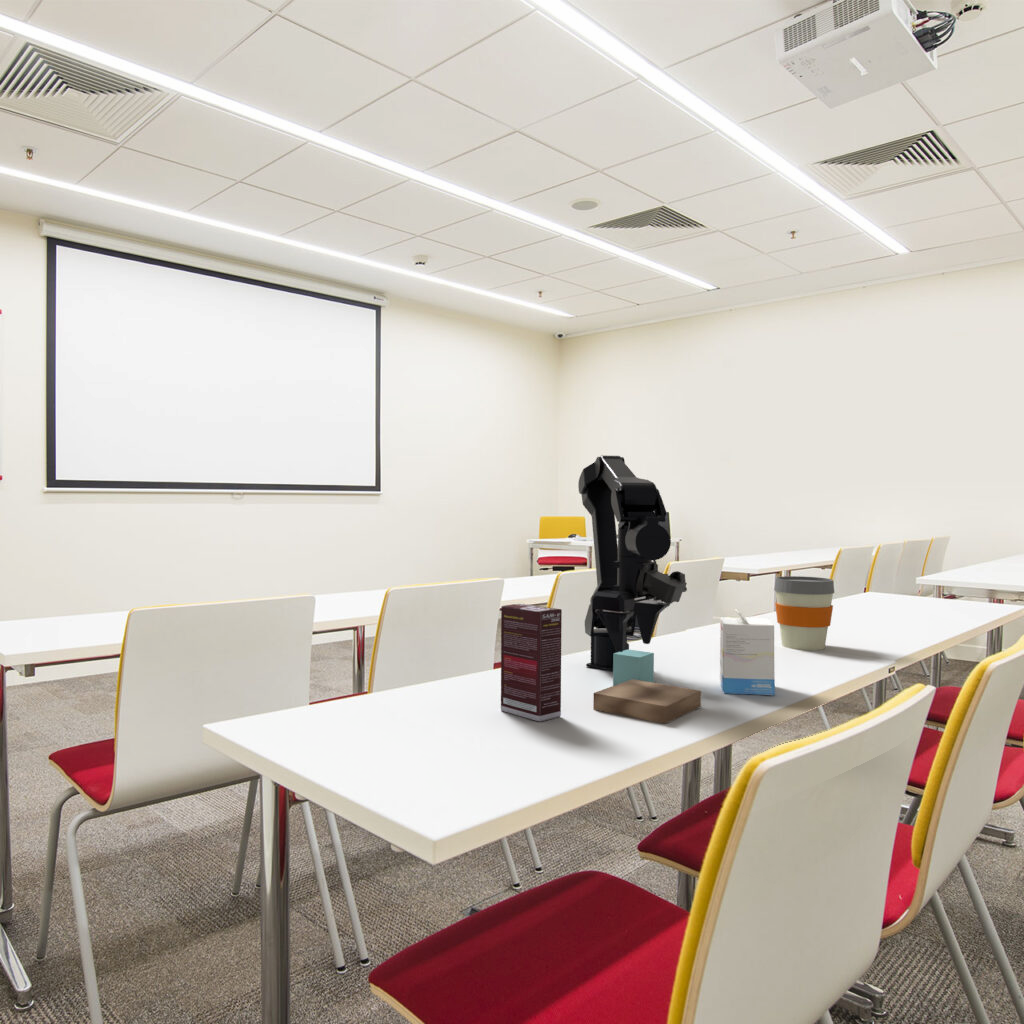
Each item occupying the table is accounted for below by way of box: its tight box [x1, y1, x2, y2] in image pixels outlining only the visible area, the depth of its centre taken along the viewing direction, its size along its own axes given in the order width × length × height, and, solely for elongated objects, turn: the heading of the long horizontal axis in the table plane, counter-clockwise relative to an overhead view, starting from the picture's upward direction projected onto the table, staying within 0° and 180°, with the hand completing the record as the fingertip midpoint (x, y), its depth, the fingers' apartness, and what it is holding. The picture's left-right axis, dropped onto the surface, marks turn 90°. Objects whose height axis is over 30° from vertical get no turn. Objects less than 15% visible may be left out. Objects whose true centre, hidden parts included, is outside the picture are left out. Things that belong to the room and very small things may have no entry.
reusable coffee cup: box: [773, 575, 835, 651], centre depth 171 cm, size 13×13×15 cm
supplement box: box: [500, 603, 563, 722], centre depth 114 cm, size 9×5×16 cm, turn 43°
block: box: [612, 648, 655, 686], centre depth 130 cm, size 5×5×6 cm
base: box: [592, 679, 702, 725], centre depth 118 cm, size 12×12×2 cm
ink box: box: [719, 607, 776, 696], centre depth 131 cm, size 9×8×13 cm
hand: (633, 647), depth 130 cm, fingers open, 9 cm apart
